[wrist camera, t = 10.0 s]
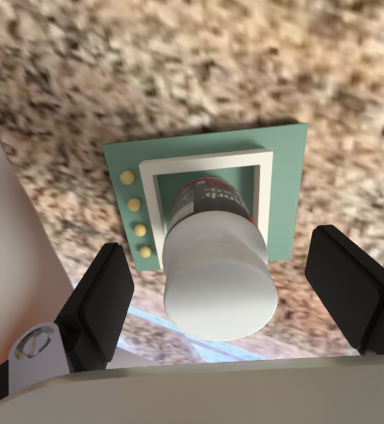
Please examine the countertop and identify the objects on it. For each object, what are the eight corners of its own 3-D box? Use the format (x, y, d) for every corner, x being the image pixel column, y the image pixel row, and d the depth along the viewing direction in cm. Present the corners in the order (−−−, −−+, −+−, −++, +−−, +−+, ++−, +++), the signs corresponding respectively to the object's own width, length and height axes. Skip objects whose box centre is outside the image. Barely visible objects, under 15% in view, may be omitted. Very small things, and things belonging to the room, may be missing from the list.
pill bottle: (255, 200, 17) (324, 295, 8) (213, 247, 19) (231, 365, 10) (198, 160, 16) (205, 221, 7) (160, 215, 18) (126, 318, 9)
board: (106, 143, 16) (91, 148, 14) (301, 122, 15) (320, 124, 13) (138, 264, 21) (132, 283, 19) (286, 253, 20) (298, 270, 18)
